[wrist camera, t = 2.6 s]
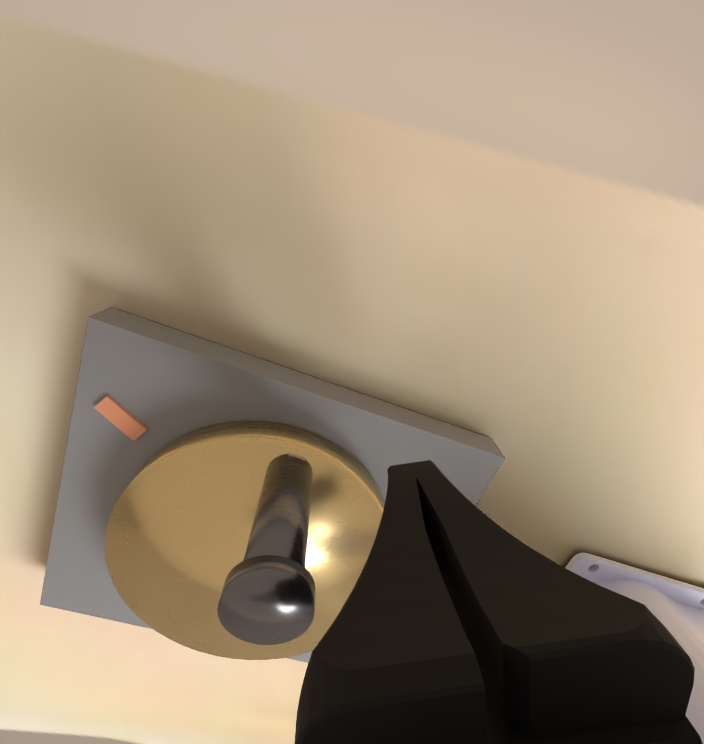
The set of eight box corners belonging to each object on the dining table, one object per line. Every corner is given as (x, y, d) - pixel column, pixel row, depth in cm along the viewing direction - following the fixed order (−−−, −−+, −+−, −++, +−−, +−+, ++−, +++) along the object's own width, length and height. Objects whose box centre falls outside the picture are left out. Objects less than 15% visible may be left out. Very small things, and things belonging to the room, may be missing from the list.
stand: (491, 438, 18) (506, 459, 16) (368, 647, 22) (371, 679, 21) (111, 307, 15) (85, 318, 13) (61, 576, 19) (37, 607, 18)
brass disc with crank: (335, 648, 20) (336, 852, 14) (102, 595, 18) (-23, 804, 12) (434, 468, 16) (497, 632, 10) (154, 378, 14) (13, 511, 8)
